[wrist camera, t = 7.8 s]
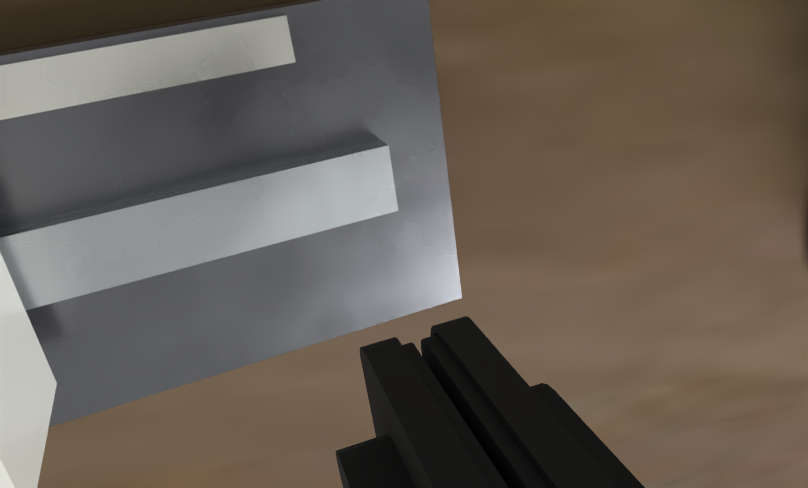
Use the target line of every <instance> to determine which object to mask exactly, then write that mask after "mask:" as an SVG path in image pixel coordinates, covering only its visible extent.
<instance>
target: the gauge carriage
mask: <svg viewBox="0 0 808 488" xmlns="http://www.w3.org/2000/svg"><path fill="white" fill-rule="evenodd" d="M56 385H57V382H56V380H55V378H54V376H53V373H52V371H51V369H50V366H49V364H48V362H47V359H46V357H45V355H44V352H43V350H42V348H41V345H40V343H39V341H38V338H37V336H36V334H35V331H34V329H33V327H32V324H31V322H30V320H29V318H28V315H27V313H26V311H25V308H24V306H23V304H22V301H21V299H20V297H19V294H18V292H17V290H16V287H15V285H14V283H13V280H12V278H11V276H10V273H9V271H8V269H7V267H6V264H5V262H4V260H3V257H2V255H1V253H0V488H37V485H38V480H39V475H40V470H41V464H42V459H43V454H44V449H45V443H46V438H47V433H48V428H49V422H50V417H51V412H52V406H53V401H54V396H55V391H56Z"/></svg>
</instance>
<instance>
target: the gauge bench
mask: <svg viewBox="0 0 808 488" xmlns="http://www.w3.org/2000/svg"><path fill="white" fill-rule="evenodd" d="M0 253H1V255H2V257H3V260H4V262H5V264H6V267H7V269H8V271H9V273H10V276H11V278H12V280H13V283H14V285H15V287H16V290H17V292H18V294H19V297H20V299H21V301H22V304H23V306H24V308H25V311H26V313H27V315H28V318H29V320H30V322H31V324H32V327H33V329H34V331H35V334H36V336H37V338H38V341H39V343H40V345H41V348H42V350H43V352H44V355H45V357H46V359H47V362H48V364H49V366H50V369H51V371H52V373H53V376H54V378H55V380H56V382H57V385H56V391H55V396H54V401H53V406H52V412H51V417H50V422H49V427H51V426H54V425H57V424H60V423H64V422H67V421H70V420H73V419H76V418H80V417H83V416H86V415H89V414H92V413H96V412H99V411H102V410H105V409H108V408H112V407H115V406H118V405H121V404H124V403H128V402H131V401H134V400H137V399H140V398H143V397H147V396H150V395H153V394H156V393H159V392H163V391H166V390H169V389H172V388H175V387H179V386H182V385H185V384H188V383H191V382H195V381H198V380H201V379H204V378H207V377H211V376H214V375H217V374H220V373H223V372H227V371H230V370H233V369H236V368H239V367H242V366H246V365H249V364H252V363H255V362H258V361H262V360H265V359H268V358H271V357H274V356H278V355H281V354H284V353H287V352H290V351H294V350H297V349H300V348H303V347H306V346H310V345H313V344H316V343H319V342H322V341H325V340H329V339H332V338H335V337H338V336H341V335H345V334H348V333H351V332H354V331H357V330H361V329H364V328H367V327H370V326H373V325H377V324H380V323H383V322H386V321H389V320H393V319H396V318H399V317H402V316H405V315H409V314H412V313H415V312H418V311H421V310H424V309H428V308H431V307H434V306H437V305H440V304H444V303H447V302H450V301H453V300H456V299H460V298H462V294H461V286H460V277H459V268H458V259H457V250H456V242H455V233H454V224H453V215H452V206H451V197H450V189H449V180H448V171H447V162H446V153H445V145H444V136H443V127H442V118H441V109H440V101H439V92H438V83H437V74H436V65H435V56H434V48H433V39H432V30H431V21H430V12H429V4H428V0H298V1H292V2H286V3H281V4H275V5H269V6H263V7H257V8H251V9H245V10H240V11H234V12H228V13H222V14H216V15H210V16H204V17H199V18H193V19H187V20H181V21H175V22H169V23H163V24H158V25H152V26H146V27H140V28H134V29H128V30H122V31H116V32H111V33H105V34H99V35H93V36H87V37H81V38H75V39H70V40H64V41H58V42H52V43H46V44H40V45H34V46H29V47H23V48H17V49H11V50H5V51H0Z"/></svg>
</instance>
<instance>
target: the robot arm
mask: <svg viewBox="0 0 808 488" xmlns="http://www.w3.org/2000/svg"><path fill="white" fill-rule="evenodd" d="M421 350H422V356H421V354H420V353H419V351H418V350H417V348H416V347H415V345H414V344H413V343H408V344H405V345H401V343H400V342H399V340H398V339H397V338H396V337H394V338H391V339H387V340H384V341H380V342H377V343H374V344H370V345H367V346H363V347H360V356H361V362H362V367H363V372H364V377H365V383H366V388H367V393H368V398H369V403H370V408H371V413H372V418H373V423H374V428H375V433H376V438H374V439H371V440H368V441H365V442H361V443H358V444H355V445H352V446H349V447H346V448H343V449H340V450H337V451H336V457H337V462H338V467H339V471H340V476H341V480H342V484H343V488H645V487H644V486H643V485H642V484H641V483H640V482H639V481H638V480H637V479H636V478H635V477H634V476H633V475H632V473H631V472H630V471H629V470H628V469H627V468H626V467H625V466H624V465H623V464H622V463H621V462H620V460H619V459H618V458H617V457H616V456H615V455H614V454H613V453H612V452H611V451H610V450H609V449H608V448H607V446H606V445H605V444H604V443H603V442H602V441H601V440H600V439H599V438H598V437H597V436H596V435H595V433H594V432H593V431H592V430H591V429H590V428H589V427H588V426H587V425H586V424H585V423H584V422H583V421H582V419H581V418H580V417H579V416H578V415H577V414H576V413H575V412H574V411H573V410H572V409H571V408H570V406H569V405H568V404H567V403H566V402H565V401H564V400H563V399H562V398H561V397H560V396H559V395H558V394H557V392H556V391H555V390H554V389H552V388H551V387H550V386H549V385H547V384H543V383H541V384H538V385H535V386H532V387H530V386H529V385H528V384H527V383H526V382H525V381H524V380H523V378H522V377H521V376H520V375H519V374H518V373H517V372H516V370H515V369H514V368H513V367H512V366H511V365H510V364H509V362H508V361H507V360H506V359H505V358H504V357H503V356H502V354H501V353H500V352H499V351H498V350H497V349H496V348H495V346H494V345H493V344H492V343H491V342H490V341H489V339H488V338H487V337H486V336H485V335H484V334H483V333H482V331H481V330H480V329H479V328H478V327H477V326H476V325H475V323H474V322H473V321H472V320H471V319H470V318H469V317H462V318H458V319H455V320H452V321H448V322H445V323H441V324H438V325H435V326H432V328H431V337H428V338H425V339H422V340H421Z"/></svg>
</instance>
